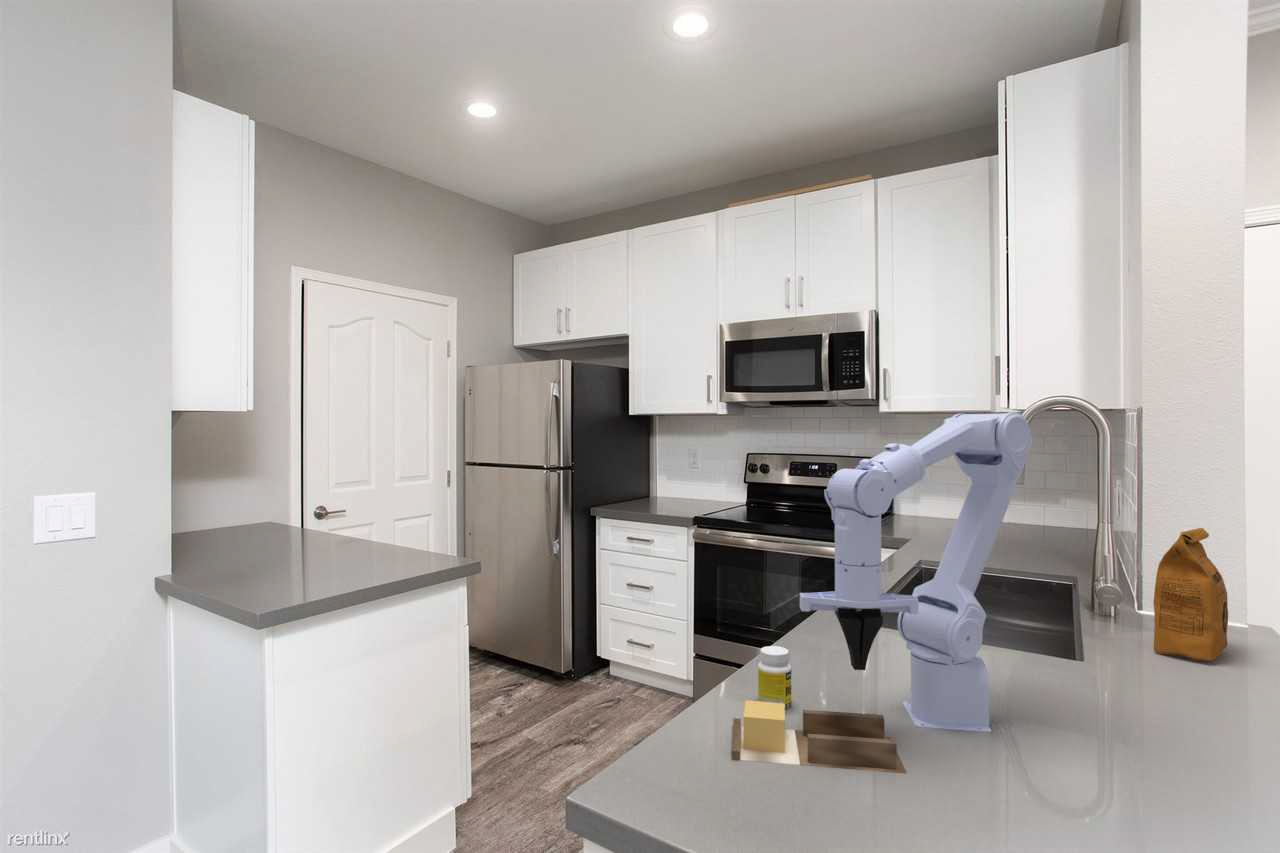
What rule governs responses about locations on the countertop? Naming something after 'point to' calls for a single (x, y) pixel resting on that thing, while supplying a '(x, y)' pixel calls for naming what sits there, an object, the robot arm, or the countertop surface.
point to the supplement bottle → (774, 676)
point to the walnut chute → (830, 743)
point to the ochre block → (764, 726)
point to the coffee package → (1190, 601)
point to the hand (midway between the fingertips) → (858, 667)
